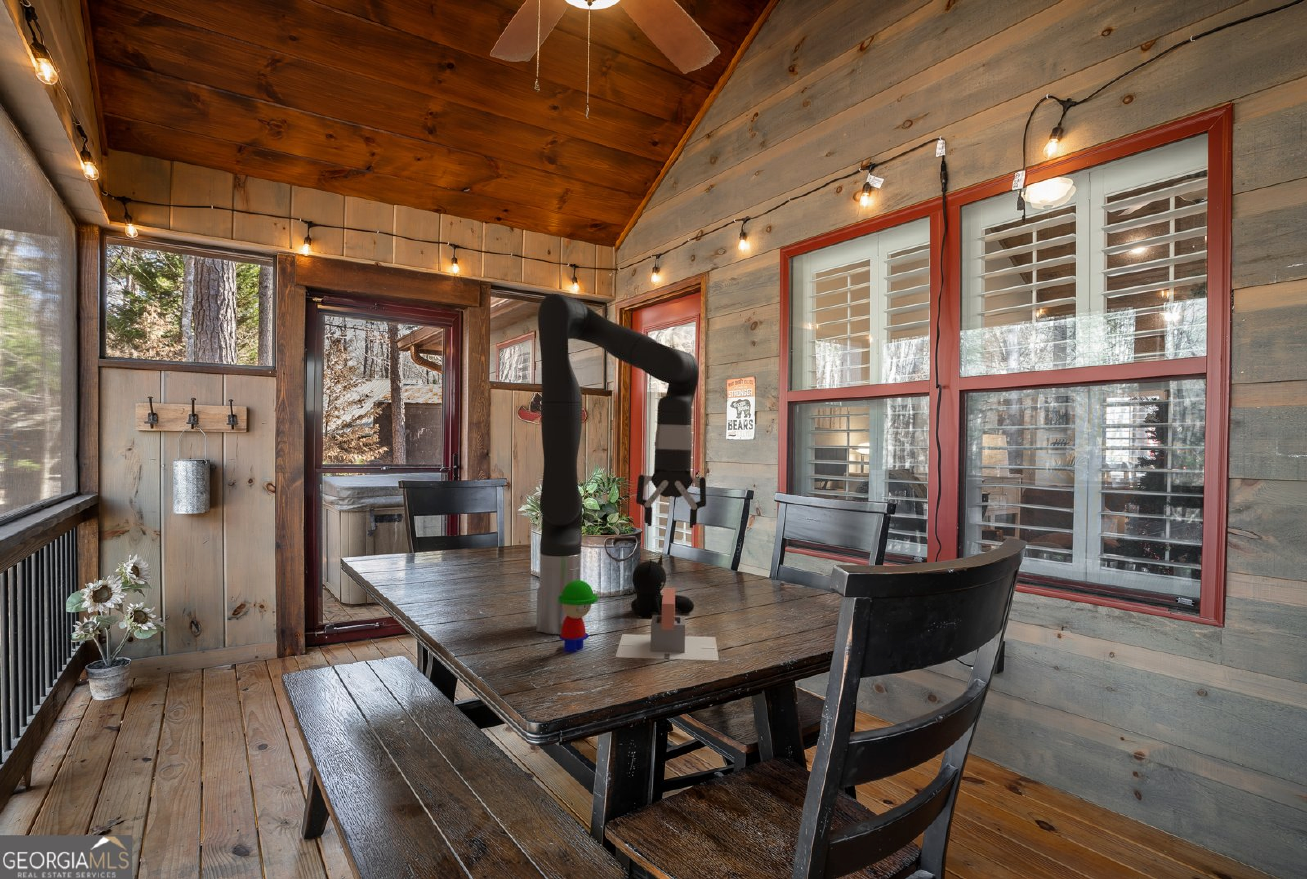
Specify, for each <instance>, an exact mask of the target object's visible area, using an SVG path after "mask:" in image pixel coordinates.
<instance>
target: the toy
mask: <svg viewBox="0 0 1307 879" xmlns="http://www.w3.org/2000/svg"><path fill="white" fill-rule="evenodd" d="M598 597H599V596H598V595H597V594H595V593H594V591H593V588H592V587H591V585H590V584H589V583H588V582H586V581H585V580H575V581H572V582H570V583H568V584H567V585H566V586H565V588H564V589H563V592H562V594H561V595H559V596H558V601H559V602H560V603H562V608H563V611H564V612H565V614H566V615H567V616H566V618H565V619H564V622H563V625H562V629H561V634H558V637H559V639H560V640H562V641H564V642H563V643H564V650H563V651H564V653H569V654H570V653H576V652H577V651H579V650H583V649H584V640H587V639H588V638H589V634H588V633H587V632H586V625H585V622H584V620H583V617H585V616H586V615H587V614H588V613H589V612H590V611H591V608H592V604H595V603H598V601H599V598H598Z"/></svg>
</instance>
